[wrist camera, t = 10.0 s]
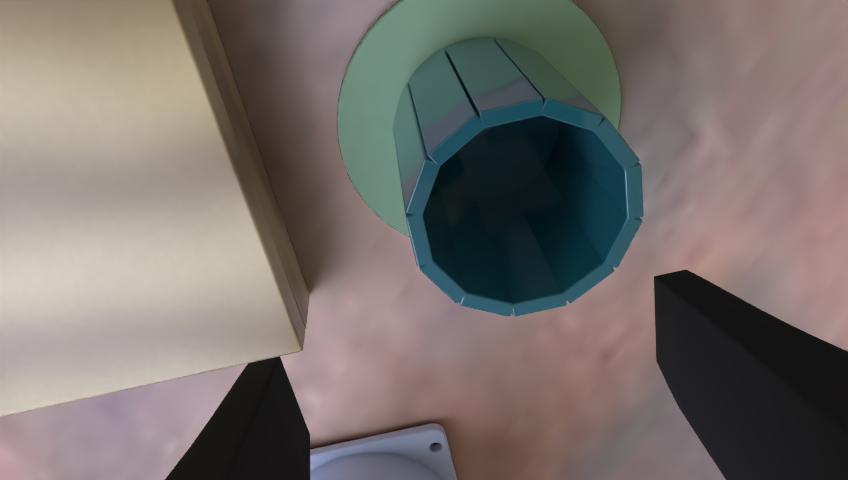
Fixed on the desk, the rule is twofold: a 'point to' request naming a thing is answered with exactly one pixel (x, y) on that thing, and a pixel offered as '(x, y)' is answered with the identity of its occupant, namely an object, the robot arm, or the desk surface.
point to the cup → (511, 179)
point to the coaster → (427, 34)
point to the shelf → (131, 205)
